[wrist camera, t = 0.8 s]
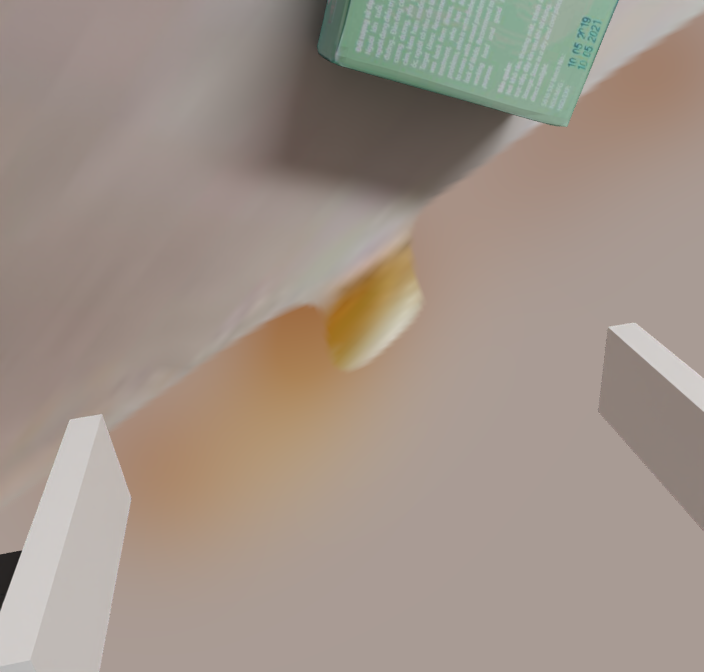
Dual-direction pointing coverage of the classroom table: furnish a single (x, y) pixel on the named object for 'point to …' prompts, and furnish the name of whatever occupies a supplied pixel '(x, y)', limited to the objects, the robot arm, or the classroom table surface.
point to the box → (474, 48)
